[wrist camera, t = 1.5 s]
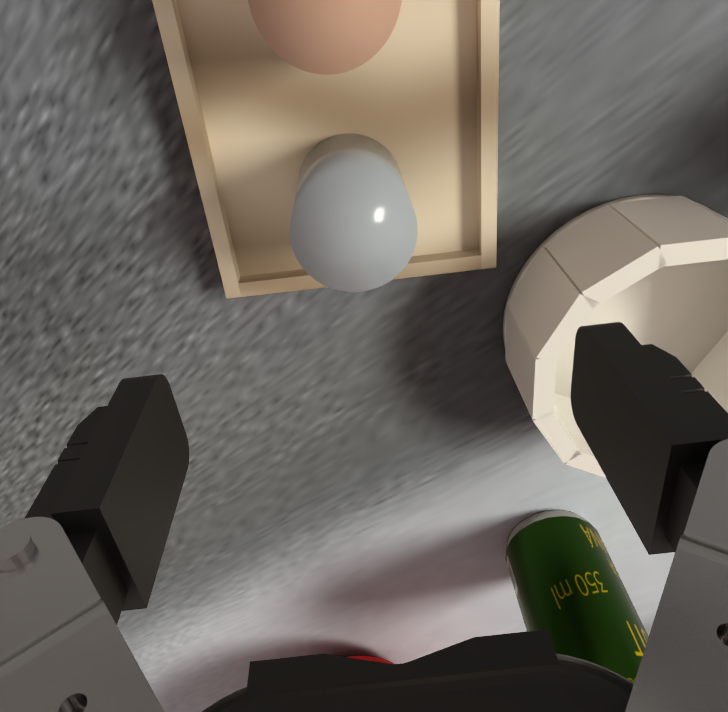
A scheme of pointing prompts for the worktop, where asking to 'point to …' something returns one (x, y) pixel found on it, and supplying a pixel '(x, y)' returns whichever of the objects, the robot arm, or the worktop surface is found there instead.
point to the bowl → (619, 302)
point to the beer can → (574, 591)
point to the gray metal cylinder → (352, 215)
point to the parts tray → (338, 131)
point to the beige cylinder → (325, 31)
